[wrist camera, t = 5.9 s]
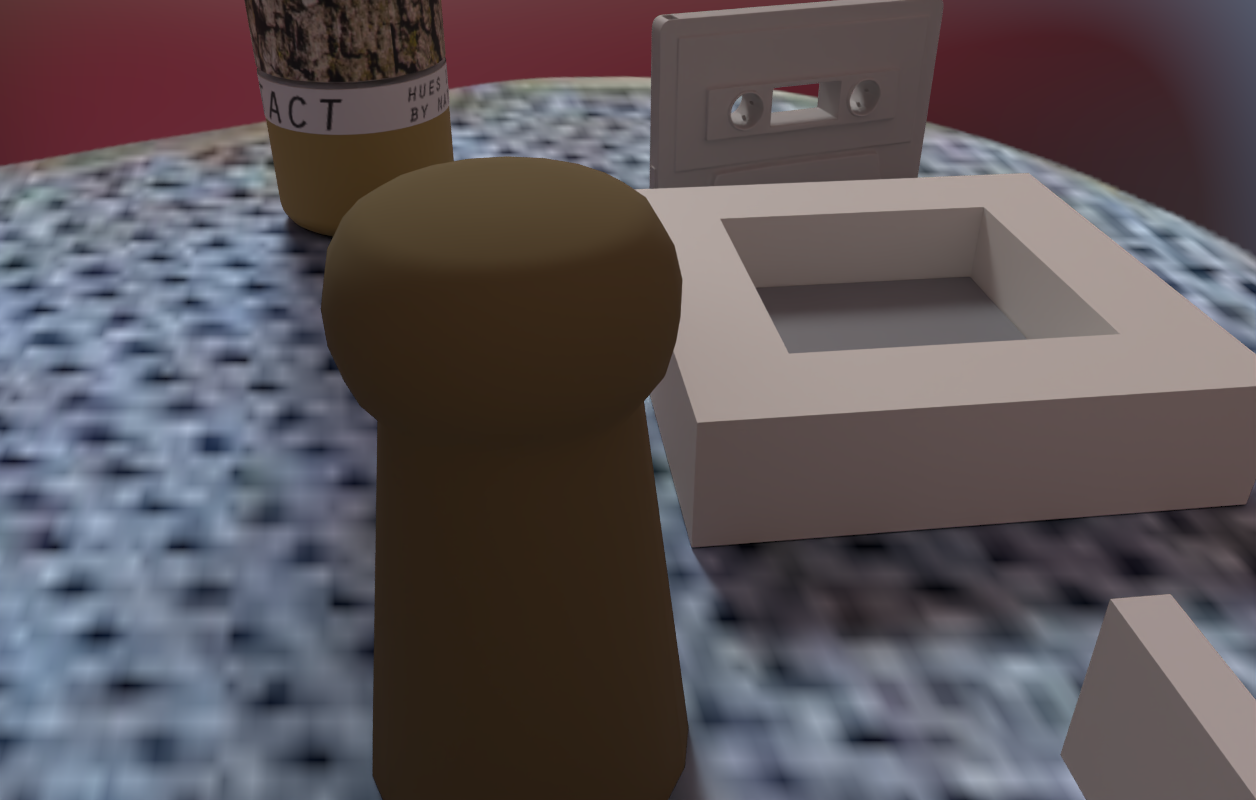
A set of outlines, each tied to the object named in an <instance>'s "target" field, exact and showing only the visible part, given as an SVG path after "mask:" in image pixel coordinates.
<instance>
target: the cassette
mask: <svg viewBox="0 0 1256 800" xmlns="http://www.w3.org/2000/svg"><path fill="white" fill-rule="evenodd" d="M942 12H943V1H942V0H838V1H827V2H814V3H802V4H789V5H777V6H766V7H753V8H741V9H729V10H717V11H705V12H692V13H680V14H668V15H659V16H658V17H656V18H655V20H654V22H653V25H652V62H651V130H650V189H660V188H684V187H708V186H732V185H756V184H780V183H804V182H829V181H853V180H877V179H901V178H918V171H919V165H920V158H921V151H922V145H923V138H924V131H925V125H926V118H927V112H928V105H929V97H930V92H931V85H932V79H933V71H934V65H935V58H936V52H937V45H938V39H939V32H940V26H941V19H942ZM814 83H820V85H819V95H818V105H817V108H810V109H801V110H792V111H784V112H775V113H771V108H772V95H773V88H778V87H786V86H795V85H805V84H814ZM854 88H855V89H854ZM853 90H854V91H853ZM852 92H853V93H852ZM851 94H852V95H851ZM740 96H742V101H741V103H740V105H739V107H738V108H737V110H736V111H735V112H733V113H731V109H732V106H733V104H734V103H735V101H736V100H737V99H738V98H739V97H740Z"/></svg>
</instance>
